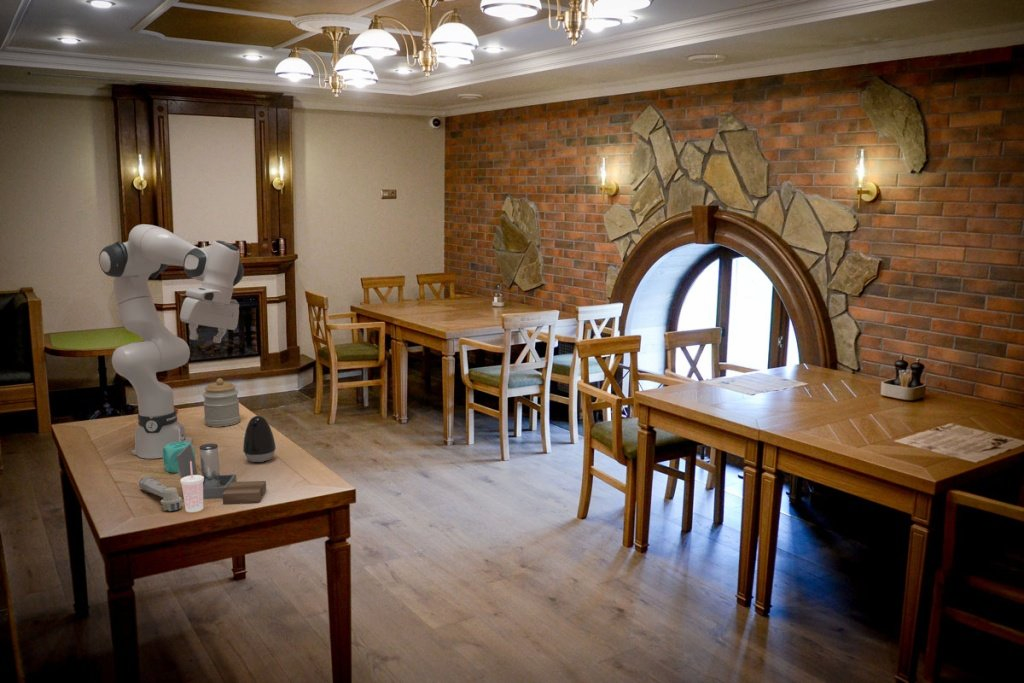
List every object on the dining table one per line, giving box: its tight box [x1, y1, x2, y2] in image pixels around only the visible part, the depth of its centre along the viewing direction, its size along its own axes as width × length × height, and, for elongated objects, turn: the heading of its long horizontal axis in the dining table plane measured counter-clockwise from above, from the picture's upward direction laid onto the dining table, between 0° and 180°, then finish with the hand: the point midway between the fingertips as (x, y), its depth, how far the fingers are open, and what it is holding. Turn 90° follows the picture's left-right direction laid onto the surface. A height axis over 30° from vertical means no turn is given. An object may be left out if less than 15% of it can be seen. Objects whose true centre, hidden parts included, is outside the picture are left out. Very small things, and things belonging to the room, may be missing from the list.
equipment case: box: [176, 444, 238, 499], centre depth 243 cm, size 12×14×13 cm
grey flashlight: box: [138, 476, 183, 512], centre depth 237 cm, size 5×7×25 cm
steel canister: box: [199, 443, 222, 488], centre depth 243 cm, size 5×5×14 cm
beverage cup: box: [180, 461, 204, 513], centre depth 229 cm, size 6×6×14 cm
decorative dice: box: [162, 442, 196, 474], centre depth 264 cm, size 8×8×8 cm
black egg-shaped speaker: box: [242, 415, 277, 463], centre depth 271 cm, size 10×10×15 cm
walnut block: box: [222, 480, 267, 505], centre depth 239 cm, size 10×10×3 cm
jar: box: [202, 377, 241, 428], centre depth 316 cm, size 13×13×18 cm
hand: (205, 341), depth 244 cm, fingers open, 8 cm apart
